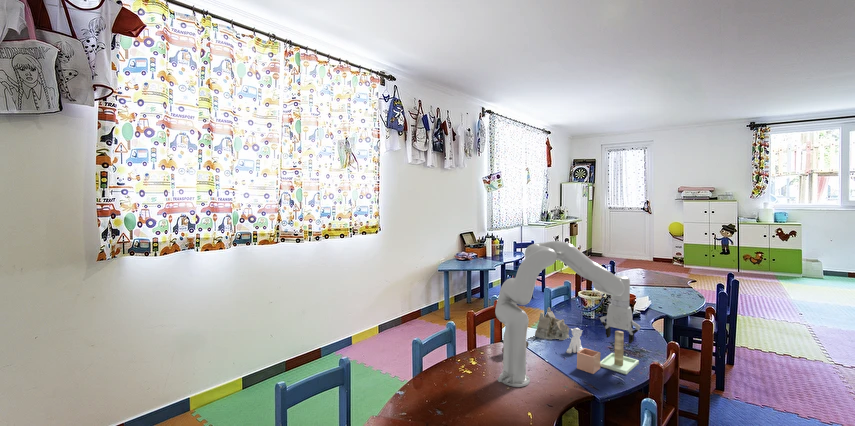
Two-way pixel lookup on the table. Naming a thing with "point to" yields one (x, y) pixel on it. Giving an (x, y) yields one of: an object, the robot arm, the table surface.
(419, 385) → the table surface
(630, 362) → the tray
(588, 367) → the pink open box
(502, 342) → the figurine character
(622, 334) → the dowel
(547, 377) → the table surface
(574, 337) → the sitting furry creature
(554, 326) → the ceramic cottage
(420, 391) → the table surface
